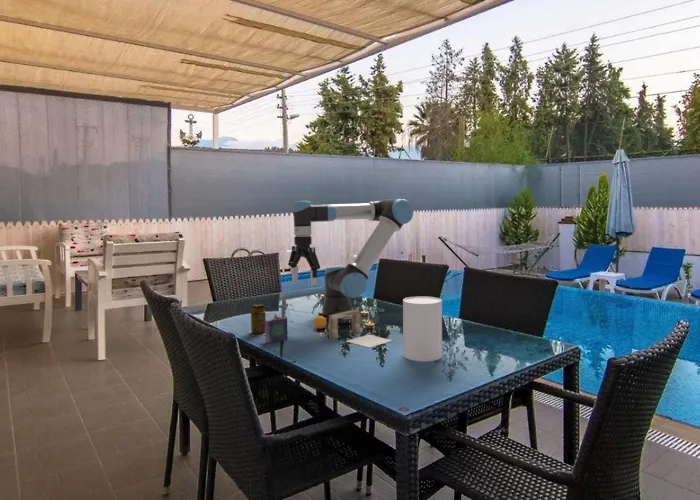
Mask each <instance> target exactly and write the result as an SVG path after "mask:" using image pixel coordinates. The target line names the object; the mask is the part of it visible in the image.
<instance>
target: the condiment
mask: <svg viewBox="0 0 700 500" xmlns="http://www.w3.org/2000/svg"><path fill="white" fill-rule="evenodd" d="M266 320H267V319H266V311H265V304H263V303H257V304H252V305H251V312H250V323H251V324H250V325H251V330H248V333H249V334H250V336H251V337H256V336H257V337H258V336H259V337H260V336H266V332H265V321H266Z"/></svg>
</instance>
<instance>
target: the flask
mask: <svg viewBox="0 0 700 500" xmlns="http://www.w3.org/2000/svg"><path fill="white" fill-rule="evenodd" d="M265 332H266V335H265V343H266V344H272V343H278V342H284V341H287V340H288V318H287V317H286V316H285V317H283V316H278V314H276V313H275V314H274V315H273V318H272V319H266V321H265Z"/></svg>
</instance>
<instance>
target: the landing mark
mask: <svg viewBox="0 0 700 500" xmlns="http://www.w3.org/2000/svg"><path fill="white" fill-rule="evenodd" d="M345 342H346V343H350V344H354V345H357V346H361V347H364V348H368V349H369V348H373V347H377V346H379V345H383V344H387V343H390V342H393V340H392V339H389V338H385V337H384V338H383V337H380V336H377V335H373V334H367V335H362V336H359V337H355V338H350V339H347V340H345Z"/></svg>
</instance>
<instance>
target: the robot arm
mask: <svg viewBox="0 0 700 500" xmlns="http://www.w3.org/2000/svg"><path fill="white" fill-rule="evenodd" d="M311 203H312V202H311V201H310V200H295V201H294V202H293V211H292V212H293V227H294V228H293V229H294V232H293V233H294V234H293V235H294V240H293V241H294V245H292V246H291V251H290V256H289V260H288V263H287V265H288V267H289V266H290V268H291V269H290V270H291V282H292V283H297V282H299V272H298V271H299V269H298V268H299V267H298V265H299V261H300V260H301V258H304V259H305V260H306V262H307V263H308V266H309V267H310V271H309V273H310V275H309V276H310V286H317V285H318V283H317V280H318V279H317V277H318V270H320V269H321V265H320V262H319V260H318V256H317V254H316V248H315V247H314V246H312V247H311V245H312V236H311V235H312V223H315V222H316V223H317V222H321V223H322V222H334V221H339V220H340V221H341V220H346V221H347V220H368V221H370V222H372V221H373V222H375V221H376V222H378V224H377V225H376V227H375V228H374V230H373V231H372V233H371V235H370V236H369V238H368V239H367V240H366V242H365V244H363V246H362V248H361V249H360V251H359V253H358V254H357V256H356V257H355V259H354V260H353V261H352V262H349V263H348V264H347V265H345V266H331V267H326V268H325V270H324V275H323V276H324V292H325V293H324V301H323V306H322V309H321V314H322V316H323V315H324V316H327V317H329V315H333V314H337V313H342V312H346V311H351V310H354V308H353V305H352V303H351V302H352V301H351V299H350V298H359V297H361V296H362V295H363V294H364V293H365V292H366V290H367V286H368V284H367V283H368V282H367V281H368V279H369V278H370V276H369V272H370V270H371V269H372V267H373V266H374V264H375V263H376V261H377V260H378V258H379V256H380V255H381V254H382V251H383V250H385V249H384V248H385V247H386V246H387V245H388V243H389V242H390V240H391V238H392V236H393V235H394V233H395V232H400V230H401V229H402V227H403V225H405V224H408V223H410V222H411V220H412V219H413V217H414V210H413V209H414V208H413V205H412V204H411V202H410V201H408V200H406V199H403V198H386V199H381V200H375V201H368V202H367V203H337V204H336V203H335V204H334V203H332V204H331V203H330V204H329V203H327V204H326V203H325V204H311Z"/></svg>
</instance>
